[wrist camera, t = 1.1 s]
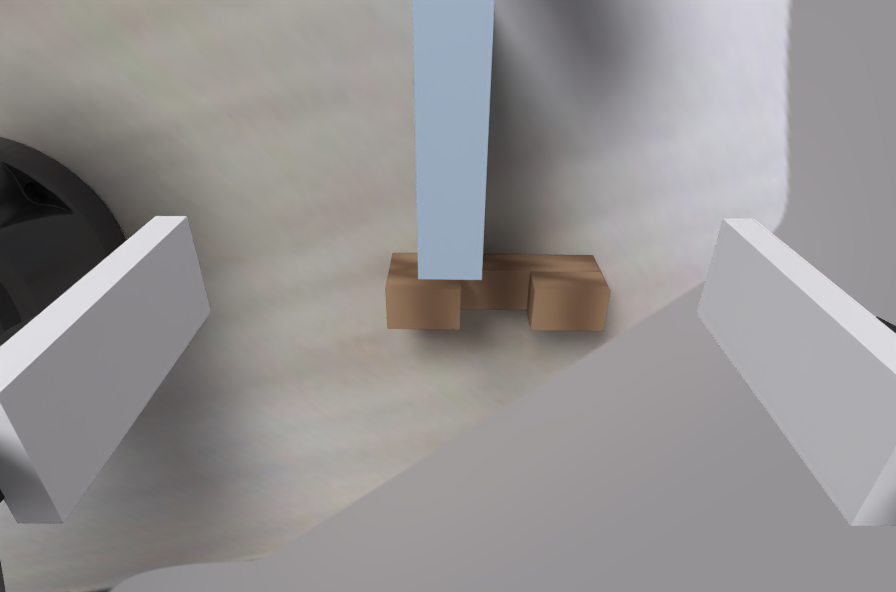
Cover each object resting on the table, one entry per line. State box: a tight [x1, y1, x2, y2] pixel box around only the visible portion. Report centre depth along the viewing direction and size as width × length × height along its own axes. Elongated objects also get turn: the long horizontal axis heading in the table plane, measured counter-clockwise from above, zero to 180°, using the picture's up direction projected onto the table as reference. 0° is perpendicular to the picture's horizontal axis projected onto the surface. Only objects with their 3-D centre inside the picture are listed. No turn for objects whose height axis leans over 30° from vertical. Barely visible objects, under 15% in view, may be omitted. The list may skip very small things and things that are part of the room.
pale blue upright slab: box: [412, 0, 494, 280], centre depth 28 cm, size 3×12×12 cm, turn 0°
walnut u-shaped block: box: [385, 253, 610, 331], centre depth 37 cm, size 14×3×5 cm, turn 89°
